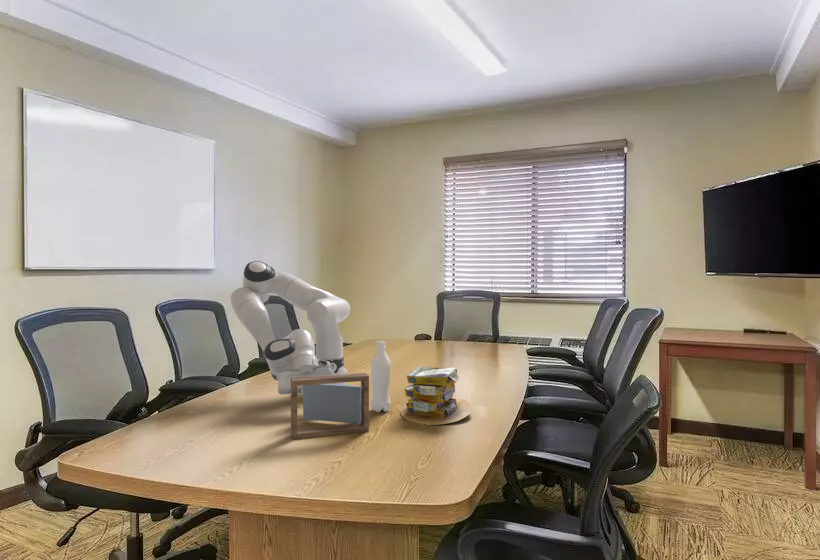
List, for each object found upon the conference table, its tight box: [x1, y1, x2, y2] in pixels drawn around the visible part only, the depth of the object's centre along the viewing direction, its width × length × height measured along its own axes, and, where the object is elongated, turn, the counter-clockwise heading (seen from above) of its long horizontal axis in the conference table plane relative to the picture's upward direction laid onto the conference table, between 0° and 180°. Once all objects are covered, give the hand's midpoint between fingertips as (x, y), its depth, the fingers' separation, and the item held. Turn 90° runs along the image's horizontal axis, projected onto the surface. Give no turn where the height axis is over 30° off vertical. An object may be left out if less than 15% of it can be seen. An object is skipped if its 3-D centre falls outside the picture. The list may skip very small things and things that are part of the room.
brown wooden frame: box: [290, 372, 370, 440], centre depth 156 cm, size 4×24×18 cm, turn 110°
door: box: [302, 384, 361, 424], centre depth 166 cm, size 2×20×12 cm, turn 75°
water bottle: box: [370, 340, 391, 413], centre depth 181 cm, size 7×7×25 cm
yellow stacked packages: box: [400, 366, 473, 426], centre depth 177 cm, size 25×25×17 cm
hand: (309, 401), depth 173 cm, fingers closed
